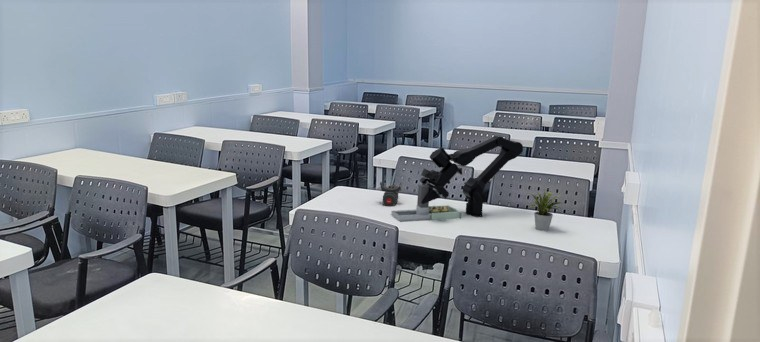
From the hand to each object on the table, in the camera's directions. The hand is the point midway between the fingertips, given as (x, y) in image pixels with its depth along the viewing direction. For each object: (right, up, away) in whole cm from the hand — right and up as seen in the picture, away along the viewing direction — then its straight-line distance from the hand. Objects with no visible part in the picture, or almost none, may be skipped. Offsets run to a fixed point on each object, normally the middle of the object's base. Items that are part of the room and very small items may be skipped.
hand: (420, 202), depth 225 cm
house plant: (+47, -10, -10) cm, 49 cm away
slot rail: (+2, -7, +2) cm, 7 cm away
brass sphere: (+8, -3, +3) cm, 9 cm away
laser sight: (-12, -2, +28) cm, 30 cm away
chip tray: (+9, -6, +4) cm, 12 cm away
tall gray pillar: (+1, -6, +1) cm, 6 cm away
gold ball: (+12, -3, +5) cm, 13 cm away
